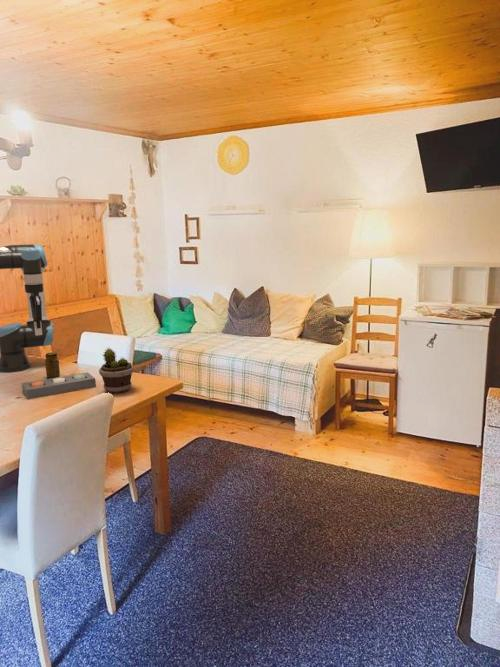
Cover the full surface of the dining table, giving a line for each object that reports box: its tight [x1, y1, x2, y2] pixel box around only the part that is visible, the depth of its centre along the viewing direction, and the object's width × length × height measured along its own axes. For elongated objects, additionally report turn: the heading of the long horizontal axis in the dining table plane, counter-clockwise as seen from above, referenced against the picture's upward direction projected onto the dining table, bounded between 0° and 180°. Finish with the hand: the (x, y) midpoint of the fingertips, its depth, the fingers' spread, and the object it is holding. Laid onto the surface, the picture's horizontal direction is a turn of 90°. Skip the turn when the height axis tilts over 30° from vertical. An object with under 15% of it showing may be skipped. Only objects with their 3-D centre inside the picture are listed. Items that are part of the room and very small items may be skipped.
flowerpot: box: [98, 347, 135, 394], centre depth 218 cm, size 14×15×20 cm
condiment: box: [43, 352, 63, 379], centre depth 239 cm, size 7×8×12 cm
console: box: [21, 372, 97, 400], centre depth 222 cm, size 12×29×4 cm, turn 124°
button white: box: [53, 378, 65, 383], centre depth 222 cm, size 5×5×4 cm
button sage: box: [73, 373, 85, 380], centre depth 226 cm, size 5×5×4 cm
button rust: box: [31, 380, 44, 387], centre depth 217 cm, size 5×5×4 cm
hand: (38, 334), depth 225 cm, fingers closed
